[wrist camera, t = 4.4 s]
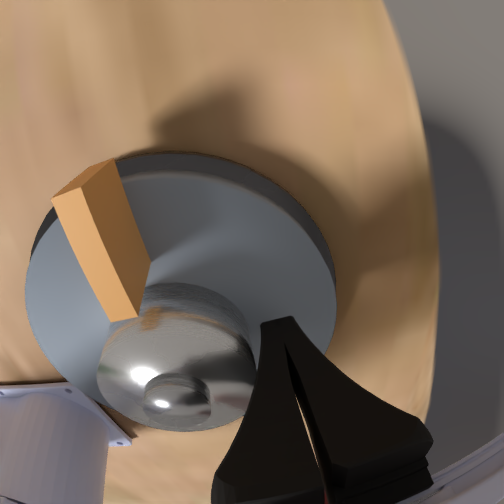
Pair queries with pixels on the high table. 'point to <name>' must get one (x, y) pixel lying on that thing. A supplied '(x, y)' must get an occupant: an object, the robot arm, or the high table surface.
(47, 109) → the high table surface
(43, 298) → the turntable
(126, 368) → the cover
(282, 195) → the turntable base
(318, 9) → the high table surface
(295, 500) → the robot arm
